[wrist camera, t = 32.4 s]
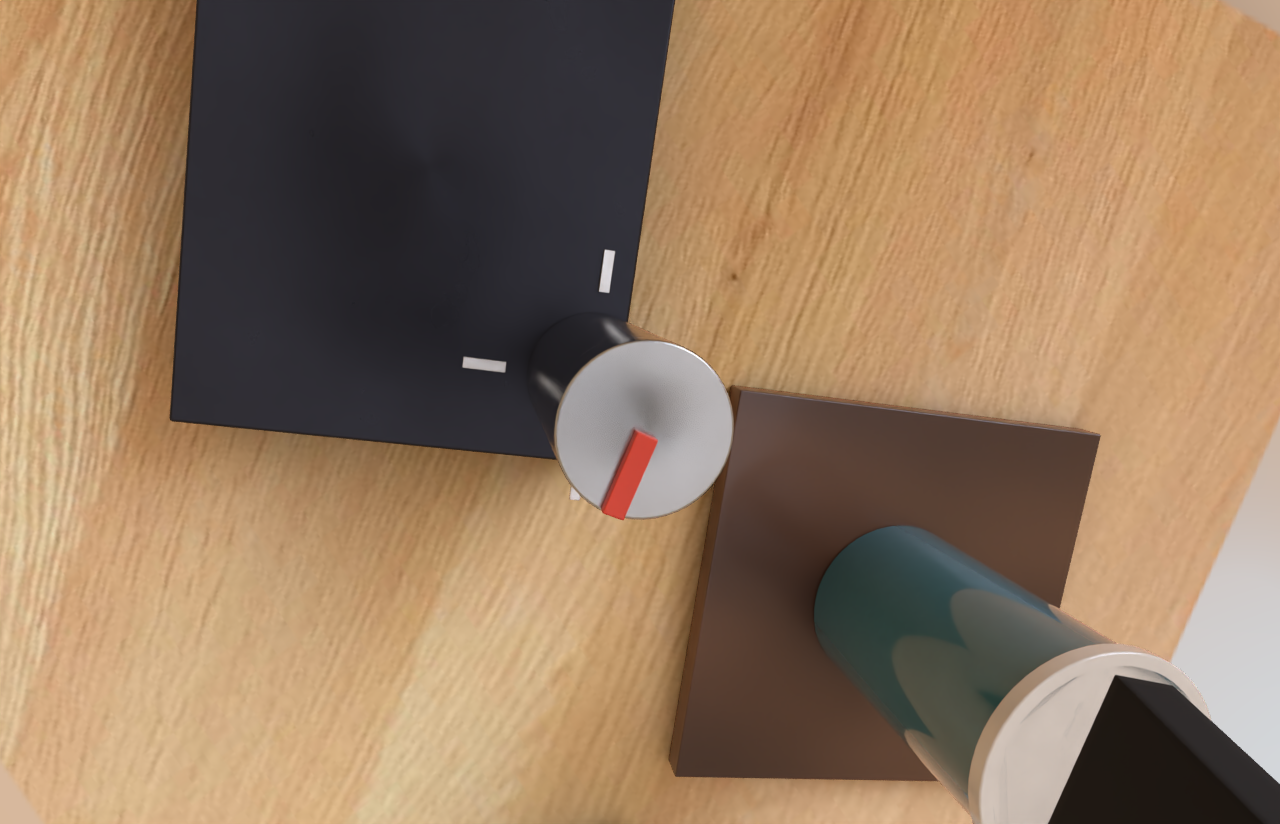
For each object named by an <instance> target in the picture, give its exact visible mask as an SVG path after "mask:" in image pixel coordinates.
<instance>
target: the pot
mask: <svg viewBox="0 0 1280 824" xmlns="http://www.w3.org/2000/svg"><path fill="white" fill-rule="evenodd" d="M814 624H815V631H816V634H817V638H818V641H819V643H820V645H821V647H822V649H823V651H824V653H825V654H826V656H827V657H828V658H829V659H830V661H831V662H832V663H833V664H834V665H835V666H836V667H837V668H838V670H839V671H840V672H841V673H842V674H843V675H844V676H845V677H846V678H847V680H848V681H849V682H850V683H851V684H852V685H853V686H854V687H855V688H856V690H857V691H858V692H859V693H860V694H861V695H862V696H863V697H864V698H865V700H866V701H867V702H868V703H869V704H870V705H871V706H872V707H873V708H874V710H875V711H876V712H877V713H878V714H879V715H880V716H881V717H882V719H883V720H884V721H885V722H886V723H887V724H888V725H889V726H890V727H891V729H892V730H893V731H894V732H895V733H896V734H897V735H898V736H899V737H900V739H901V740H902V741H903V742H904V743H905V744H906V745H907V746H908V747H909V749H910V750H911V751H912V752H913V753H914V754H915V755H916V756H917V757H918V759H919V760H920V761H921V762H922V763H923V764H924V765H925V766H926V768H927V769H928V770H929V771H930V772H931V773H932V774H933V775H934V776H935V778H936V779H937V780H938V781H939V782H940V783H941V784H942V785H943V786H944V788H945V789H946V790H947V791H948V792H949V793H950V794H951V795H952V796H953V798H954V799H955V800H956V801H957V802H958V803H959V804H960V805H961V806H962V808H963V809H964V810H965V811H966V812H967V813H968V814H969V815H970V817H971V818H972V822H973V824H1048V822H1049V820H1050V818H1051V816H1052V813H1053V811H1054V809H1055V807H1056V805H1057V802H1058V800H1059V798H1060V796H1061V793H1062V791H1063V789H1064V787H1065V785H1066V782H1067V780H1068V778H1069V776H1070V774H1071V771H1072V769H1073V767H1074V765H1075V762H1076V760H1077V758H1078V756H1079V754H1080V751H1081V749H1082V747H1083V745H1084V742H1085V740H1086V738H1087V736H1088V734H1089V731H1090V729H1091V727H1092V725H1093V722H1094V720H1095V718H1096V716H1097V714H1098V711H1099V709H1100V707H1101V705H1102V702H1103V700H1104V698H1105V696H1106V694H1107V691H1108V689H1109V687H1110V685H1111V682H1112V680H1113V678H1114V676H1115V675H1120V676H1125V677H1130V678H1136V679H1141V680H1146V681H1152V682H1157V683H1163V684H1168V685H1173V686H1174V687H1175V688H1176V689H1177V690H1178V691H1179V692H1180V693H1182V694H1183V695H1184V696H1185V697H1186V698H1187V699H1188V700H1189V701H1190V702H1191V703H1192V704H1193V705H1195V706H1196V707H1197V708H1198V709H1199V710H1200V711H1201V712H1202V713H1203V714H1204V715H1205V716H1206V717H1208V718H1209V719H1210V720H1211V717H1210V714H1209V711H1208V708H1207V705H1206V703H1205V701H1204V699H1203V697H1202V695H1201V693H1200V691H1199V690H1198V689H1197V687H1196V686H1195V684H1194V683H1193V682H1192V680H1191V679H1190V678H1189V677H1188V676H1187V675H1186V674H1185V673H1184V672H1183V671H1182V670H1180V669H1179V668H1177V667H1176V666H1174V665H1173V664H1172V663H1170V662H1168V661H1167V660H1165V659H1163V658H1162V657H1160V656H1158V655H1156V654H1154V653H1152V652H1150V651H1148V650H1146V649H1142V648H1139V647H1136V646H1132V645H1125V644H1117V643H1116V642H1114V641H1112V640H1111V639H1109V638H1107V637H1106V636H1104V635H1102V634H1101V633H1099V632H1097V631H1096V630H1094V629H1092V628H1091V627H1089V626H1087V625H1086V624H1084V623H1082V622H1081V621H1079V620H1077V619H1076V618H1074V617H1072V616H1071V615H1069V614H1067V613H1066V612H1064V611H1062V610H1061V609H1059V608H1057V607H1056V606H1054V605H1052V604H1051V603H1049V602H1047V601H1046V600H1044V599H1042V598H1041V597H1039V596H1037V595H1036V594H1034V593H1032V592H1031V591H1029V590H1027V589H1026V588H1024V587H1022V586H1021V585H1019V584H1017V583H1016V582H1014V581H1012V580H1011V579H1009V578H1007V577H1006V576H1004V575H1002V574H1001V573H999V572H997V571H996V570H994V569H992V568H991V567H989V566H987V565H986V564H984V563H982V562H981V561H979V560H977V559H976V558H974V557H972V556H971V555H969V554H967V553H966V552H964V551H962V550H961V549H959V548H957V547H956V546H954V545H952V544H951V543H949V542H947V541H946V540H944V539H942V538H941V537H939V536H937V535H936V534H934V533H932V532H930V531H928V530H925V529H922V528H918V527H913V526H889V527H884V528H880V529H877V530H874V531H872V532H869V533H867V534H865V535H863V536H861V537H859V538H857V539H856V540H855V541H853V542H852V543H850V544H849V545H848V546H847V547H846V548H844V549H843V550H842V551H841V552H840V553H839V554H838V555H837V557H836V558H835V559H834V560H833V561H832V563H831V564H830V566H829V567H828V569H827V570H826V572H825V574H824V576H823V578H822V580H821V582H820V585H819V587H818V591H817V595H816V599H815V606H814Z"/></svg>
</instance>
